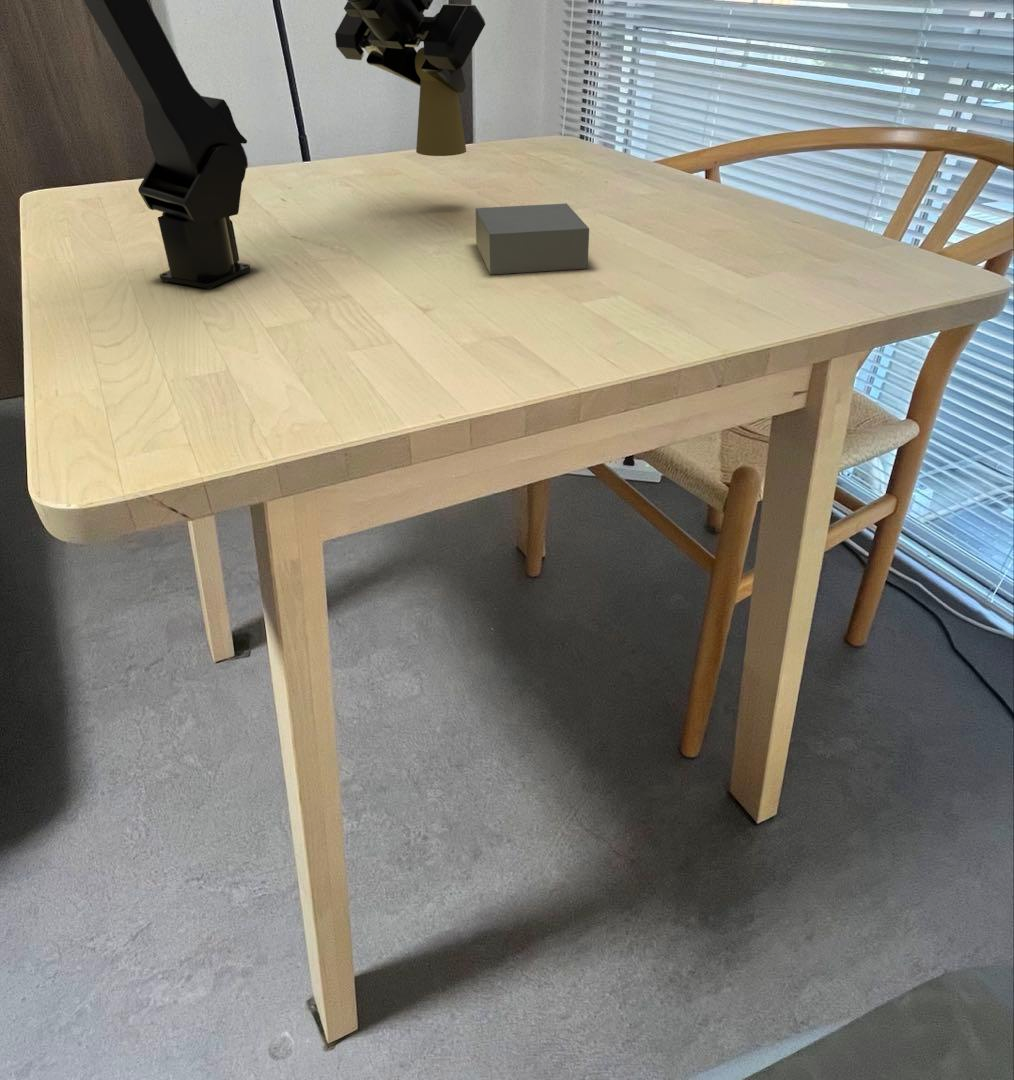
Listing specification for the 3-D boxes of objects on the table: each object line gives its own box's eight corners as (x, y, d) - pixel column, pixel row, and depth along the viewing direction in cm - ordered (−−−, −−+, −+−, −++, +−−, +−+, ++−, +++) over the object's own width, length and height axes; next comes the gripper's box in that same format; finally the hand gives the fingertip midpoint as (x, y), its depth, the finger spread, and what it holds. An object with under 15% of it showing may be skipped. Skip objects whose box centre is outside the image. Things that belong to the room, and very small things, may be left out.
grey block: (490, 274, 86) (489, 233, 84) (476, 246, 94) (475, 207, 92) (587, 268, 88) (589, 228, 85) (565, 240, 96) (567, 203, 93)
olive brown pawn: (452, 157, 100) (448, 49, 94) (406, 153, 102) (400, 46, 96) (475, 148, 105) (472, 44, 98) (431, 144, 107) (426, 42, 101)
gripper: (470, -94, 83) (541, 33, 96) (344, -89, 93) (423, 25, 106) (415, 6, 82) (494, 120, 95) (294, 0, 92) (380, 103, 106)
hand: (447, 88), depth 101 cm, fingers closed on olive brown pawn, 5 cm apart
